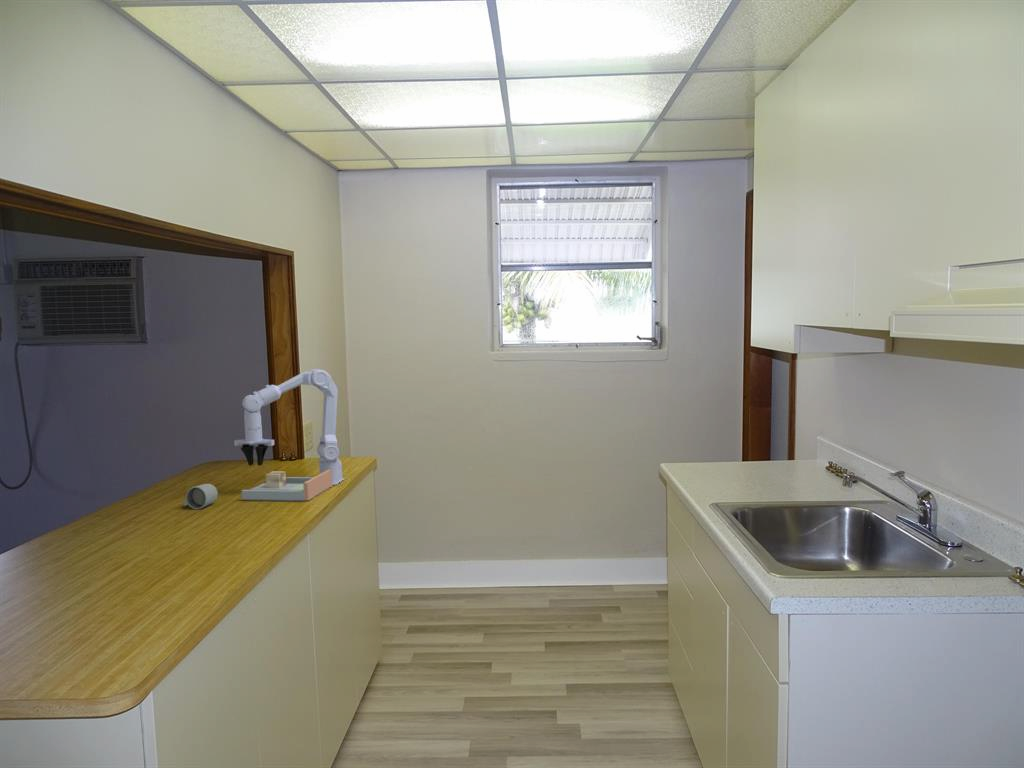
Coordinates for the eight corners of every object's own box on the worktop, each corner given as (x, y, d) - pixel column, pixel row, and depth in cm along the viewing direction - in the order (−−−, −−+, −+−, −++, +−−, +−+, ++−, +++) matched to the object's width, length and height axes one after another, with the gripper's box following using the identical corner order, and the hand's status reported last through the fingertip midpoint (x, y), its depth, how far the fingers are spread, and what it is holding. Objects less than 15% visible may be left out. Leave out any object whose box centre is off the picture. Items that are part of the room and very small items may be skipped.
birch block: (273, 484, 250) (272, 471, 250) (286, 484, 249) (285, 471, 249) (266, 488, 245) (265, 474, 245) (279, 488, 244) (278, 474, 244)
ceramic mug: (220, 502, 236) (218, 481, 236) (207, 509, 228) (205, 486, 227) (192, 503, 238) (190, 481, 237) (177, 509, 230) (175, 487, 229)
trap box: (271, 485, 259) (270, 469, 258) (332, 486, 255) (331, 469, 255) (242, 500, 238) (241, 482, 238) (308, 501, 235) (307, 483, 234)
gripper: (228, 429, 243) (231, 467, 245) (266, 429, 241) (268, 467, 243) (239, 426, 250) (241, 463, 252) (276, 426, 248) (278, 463, 250)
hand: (255, 465), depth 248 cm, fingers open, 3 cm apart
